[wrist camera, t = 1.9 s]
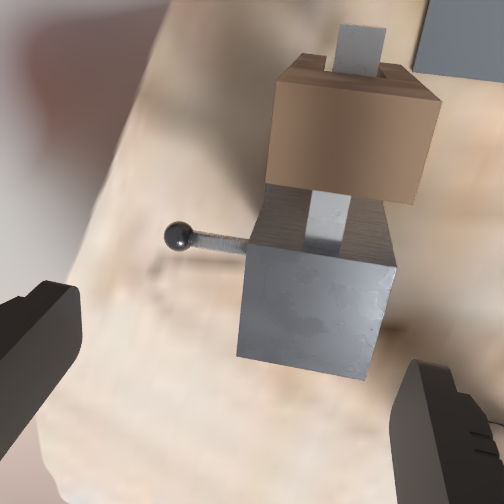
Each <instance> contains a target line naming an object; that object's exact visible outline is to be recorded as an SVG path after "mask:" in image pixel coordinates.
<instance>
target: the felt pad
mask: <svg viewBox="0 0 504 504" xmlns="http://www.w3.org/2000/svg"><path fill="white" fill-rule="evenodd" d="M412 72H417V73H426V74H434V75H443V76H451V77H459V78H468V79H476V80H485V81H493V82H502V83H504V0H429V4H428V8H427V12H426V17H425V21H424V25H423V29H422V33H421V37H420V41H419V45H418V49H417V53H416V57H415V62H414V66H413V70H412Z"/></svg>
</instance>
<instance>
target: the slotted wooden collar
mask: <svg viewBox="0 0 504 504" xmlns="http://www.w3.org/2000/svg"><path fill="white" fill-rule="evenodd" d="M325 62H326V56H321V55H313V54H304V53H302V54H301V55H300V56H299V57H298V58H297V59H296V60H295V62H294V63H293V64H292V65H291V66H290V67H289V68H288V69H287V70H286V71H285V72H284V73H283V74H282V75H281V77H280V78H279V79H278V80H277V81H276V89H275V98H274V107H273V116H272V125H271V133H270V142H269V151H268V160H267V169H266V178H265V183H268V184H275V185H282V186H289V187H295V188H302V189H309V190H315V191H322V192H329V193H336V194H342V195H349V196H356V197H363V198H369V199H376V200H383V201H389V202H396V203H403V204H410V205H413V203H414V200H415V196H416V193H417V189H418V186H419V182H420V179H421V175H422V171H423V168H424V164H425V161H426V157H427V154H428V150H429V147H430V143H431V140H432V136H433V132H434V129H435V125H436V122H437V118H438V115H439V111H440V108H441V104H442V101H441V100H440V99H439V98H438V97H436V96H435V95H434V94H433V93H432V92H431V91H430V90H429V89H427V88H426V87H425V86H424V85H423V84H422V83H421V82H420V81H418V80H417V79H416V78H415V77H414V76H413V75H412V74H410V73H409V72H408V71H407V70H406V69H405V68H404V67H403V66H401V65H398V64H389V63H381V62H379V66H378V71H377V76H376V77H370V76H361V75H353V74H345V73H337V72H328V71H324V68H325Z"/></svg>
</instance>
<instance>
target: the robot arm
mask: <svg viewBox="0 0 504 504" xmlns="http://www.w3.org/2000/svg"><path fill="white" fill-rule="evenodd" d="M81 344H82V321H81V305H80V293H79V290H78V288H77V287H75V286H71V285H66V284H61V283H56V282H52V281H47V280H46V281H43V282H41V283H40V284H39V285H38V286H37V287H35V288H34V289H33V290H32V291H31V292H30V293H29V294H28V295H27V296H26V297H20V296H17V297H15V298H13V299H11V300H9V301H7V302H5V303H3V304H1V305H0V461H1V459H2V458H3V456H4V455H5V454H6V453H7V451H8V450H9V448H10V447H11V446H12V444H13V443H14V442H15V440H16V439H17V438H18V436H19V435H20V434H21V432H22V431H23V429H24V428H25V427H26V426H27V424H28V423H29V421H30V420H31V419H32V418H33V416H34V415H35V414H36V412H37V411H38V410H39V408H40V407H41V406H42V404H43V403H44V401H45V400H46V399H47V397H48V396H49V395H50V393H51V392H52V391H53V389H54V388H55V387H56V385H57V384H58V383H59V381H60V380H61V379H62V377H63V376H64V375H65V373H66V372H67V371H68V369H69V368H70V367H71V365H72V364H73V363H74V361H75V359H76V358H77V356H78V353H79V351H80V348H81ZM389 435H390V444H391V452H392V461H393V469H394V477H395V486H396V494H397V503H398V504H504V426H501V425H498V424H493V423H488V420H487V417H486V415H485V414H484V412H483V411H482V410H481V409H480V407H479V406H478V405H477V404H476V402H475V401H474V400H473V399H472V397H471V396H470V395H468V394H464V393H459V392H457V390H456V387H455V384H454V380H453V377H452V374H451V371H450V369H449V368H448V367H447V366H443V365H438V364H433V363H429V362H424V361H419V360H412V361H411V363H410V364H409V366H408V369H407V371H406V374H405V376H404V379H403V381H402V384H401V386H400V389H399V391H398V394H397V396H396V399H395V401H394V404H393V406H392V410H391V414H390V422H389Z"/></svg>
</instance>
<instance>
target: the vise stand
mask: <svg viewBox="0 0 504 504" xmlns="http://www.w3.org/2000/svg"><path fill="white" fill-rule="evenodd" d="M385 33H386V29H385V28H383V27H374V26H364V25H355V24H346V23H340V29H339V35H338V41H337V47H336V53H335V59H334V65H333V71H332V72H337V73H345V74H353V75H361V76H370V77H376V76H377V71H378V66H379V62H380V57H381V52H382V48H383V43H384V38H385ZM164 240H165V243H166V245H167V246H168V247H169V248H170V249H172V250H174V251H184V250H187V249H188V248H189V247H196V248H202V249H208V250H214V251H220V252H226V253H232V254H238V255H244V256H246V264H245V274H244V284H243V294H242V304H241V314H240V324H239V334H238V344H237V354H236V356H237V357H242V358H248V359H253V360H258V361H263V362H269V363H274V364H279V365H284V366H290V367H295V368H300V369H306V370H311V371H316V372H321V373H327V374H332V375H337V376H342V377H348V378H353V379H358V380H363V381H365V379H366V375H367V372H368V368H369V365H370V361H371V358H372V354H373V351H374V347H375V344H376V340H377V337H378V333H379V330H380V326H381V323H382V319H383V316H384V312H385V309H386V305H387V302H388V298H389V295H390V291H391V287H392V284H393V280H394V277H395V273H396V270H397V265H396V261H395V256H394V252H393V247H392V242H391V238H390V233H389V229H388V224H387V220H386V215H385V211H384V206H383V201H382V200H376V199H369V198H363V197H356V196H349V195H342V194H336V193H329V192H322V191H315V190H309V189H302V188H295V187H289V186H282V185H275V184H268V183H267V184H266V193H265V201H264V204H263V206H262V209H261V211H260V214H259V216H258V219H257V221H256V224H255V226H254V229H253V231H252V234H251V236H250V239H244V238H237V237H231V236H225V235H219V234H213V233H207V232H200V231H194V230H193V229H192V228H191V226H190V225H189V224H187V223H185V222H181V221H177V222H173V223H171V224H170V225H169V226H168V227H167V228H166V230H165V232H164Z"/></svg>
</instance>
